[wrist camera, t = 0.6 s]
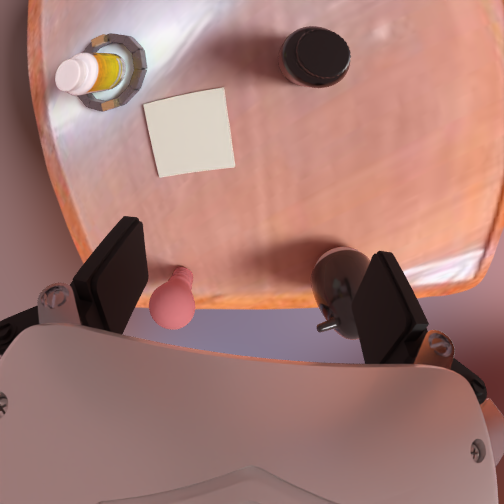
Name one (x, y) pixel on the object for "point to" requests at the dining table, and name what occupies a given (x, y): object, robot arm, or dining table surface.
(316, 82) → the supplement bottle
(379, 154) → the dining table surface
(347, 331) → the pump dispenser
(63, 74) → the supplement bottle
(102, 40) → the collar
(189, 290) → the light bulb
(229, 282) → the dining table surface
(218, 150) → the coaster
